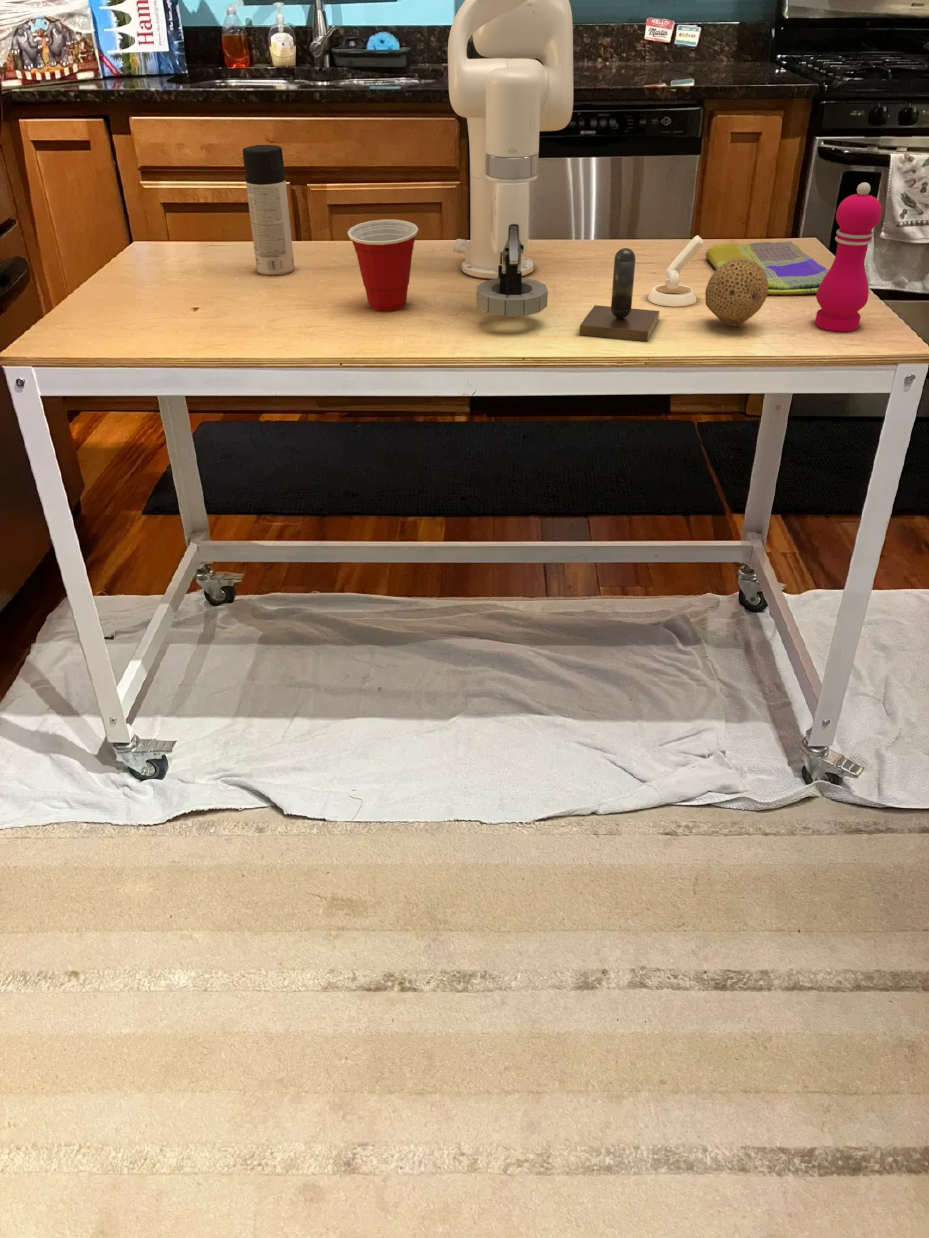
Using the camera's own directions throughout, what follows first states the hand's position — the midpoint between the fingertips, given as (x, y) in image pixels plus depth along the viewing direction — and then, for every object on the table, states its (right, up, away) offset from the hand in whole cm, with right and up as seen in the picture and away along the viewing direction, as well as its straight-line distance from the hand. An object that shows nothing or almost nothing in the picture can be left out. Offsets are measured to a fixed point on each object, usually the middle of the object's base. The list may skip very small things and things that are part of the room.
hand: (509, 294), depth 154 cm
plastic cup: (-19, 0, +7) cm, 20 cm away
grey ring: (0, -3, -3) cm, 4 cm away
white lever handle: (+26, +2, +8) cm, 28 cm away
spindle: (+16, -6, -3) cm, 18 cm away
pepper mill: (+49, -6, -3) cm, 49 cm away
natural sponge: (+33, -6, -3) cm, 34 cm away
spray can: (-40, +12, +24) cm, 48 cm away
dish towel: (+45, +9, +19) cm, 50 cm away
